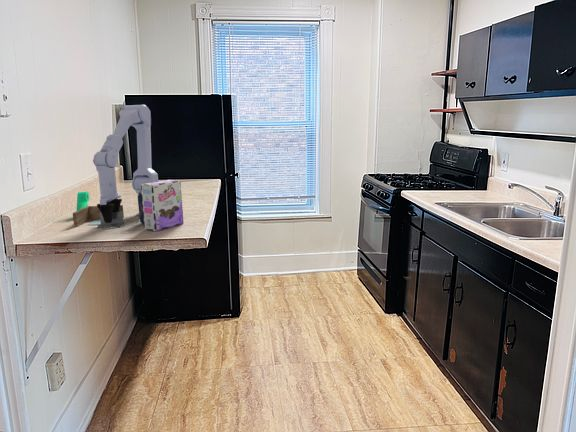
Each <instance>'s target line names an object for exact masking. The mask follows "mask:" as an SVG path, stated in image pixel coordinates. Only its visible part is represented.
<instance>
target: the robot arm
mask: <svg viewBox="0 0 576 432" xmlns="http://www.w3.org/2000/svg"><path fill="white" fill-rule="evenodd" d="M151 116H152V115H151V110H150V109H149V106H147V105H146V104H133V105H127V104H126V105H123V106H121V108H120V110H119V118H118V121H117V125H116V126H115V129H114V131H113V133H112V134H109V135H107V136H106V140H105V141H104V143H103V145H102V147H101V148H100V150H99V151H97V152H95V153H94V155H93V159H92V162H93V164H94V167H96V171H97V174H98V181H99V182H98V183H99V191H100V199H99V203H98V204H96V206H97V207H98V208H99V210H100V211H101V213H102V216H103V218H104V221H105V223H111V222H112V212H119V208H120V205H122V204H121V203H122V202H123V199H122V195H119V193H118V190H117V189H118V188H117V179H116V165H118V161H119V159H118V157H119V152H120V151H121V148H122V147H123V144H124V140H123V137H124V136H125V135H126V134H127V131H128V130H129V128H130V127H133V128H134V129H135V130H136V145H137V146H136V147H137V169H136V170H135V171H134V172H133V175H132V176H133V178H132V181H131V186H132V189H133V190H134V191H135V194H137V196H138V195H139V192H141V184H147V183H153V182H159V181H160V180H159V174H158V173H157V172H156V171H155V170H154V169H153V168H152V167H153V166H152V142H151V141H152V139H151V138H152V137H151V135H152V134H151V133H152V132H151V126H152V117H151ZM135 215H136V216H139V212H137V213H136V214H135Z"/></svg>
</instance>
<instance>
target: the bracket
mask: <svg viewBox="0 0 576 432" xmlns="http://www.w3.org/2000/svg"><path fill="white" fill-rule="evenodd" d="M123 212H124V211H123ZM123 212H112V222H111V223H105V221H104V218H103V216H102V213H101V212H100V213H99V214H100V219H99V220H100V223H101V224H100V225H96V226H97V229H109V228H110V229H112V228H111V227H117V228H121V227H122V226H124V223H125V221H124V218H123Z"/></svg>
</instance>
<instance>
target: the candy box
mask: <svg viewBox="0 0 576 432" xmlns="http://www.w3.org/2000/svg"><path fill="white" fill-rule="evenodd" d="M181 185H182V184H181V180H179V179H178V180H177V179H167V180H159V182H153V183H147V184H141V191H142V204H143V216H144V225H143V227H144V230H146V231H152V232H157V231H162V230H165V229H168V228H172V227H176V226H179V225H184V211H183V210H184V209H183V199H182V198H183V197H182V186H181Z"/></svg>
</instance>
